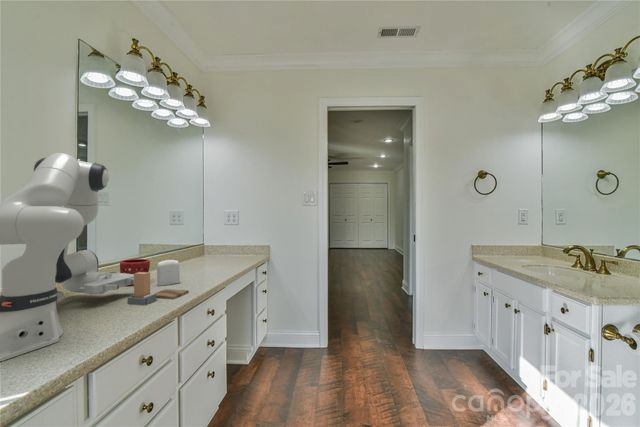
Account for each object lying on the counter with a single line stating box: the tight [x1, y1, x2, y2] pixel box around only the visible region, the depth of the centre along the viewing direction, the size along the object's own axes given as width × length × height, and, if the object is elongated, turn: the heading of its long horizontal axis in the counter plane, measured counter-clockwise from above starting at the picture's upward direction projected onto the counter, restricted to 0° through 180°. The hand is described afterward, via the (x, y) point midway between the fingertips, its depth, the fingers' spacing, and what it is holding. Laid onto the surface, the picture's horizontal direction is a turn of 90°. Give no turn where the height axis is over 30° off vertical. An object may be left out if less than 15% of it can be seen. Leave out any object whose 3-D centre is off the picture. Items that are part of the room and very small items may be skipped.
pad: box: [156, 288, 190, 300], centre depth 132 cm, size 10×12×1 cm
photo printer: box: [156, 259, 181, 287], centre depth 151 cm, size 10×4×12 cm, turn 127°
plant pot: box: [119, 258, 151, 286], centre depth 153 cm, size 13×13×12 cm
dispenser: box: [127, 291, 158, 306], centre depth 122 cm, size 7×9×4 cm
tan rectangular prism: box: [133, 272, 151, 298], centre depth 122 cm, size 3×5×12 cm, turn 78°
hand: (127, 284), depth 123 cm, fingers open, 8 cm apart
